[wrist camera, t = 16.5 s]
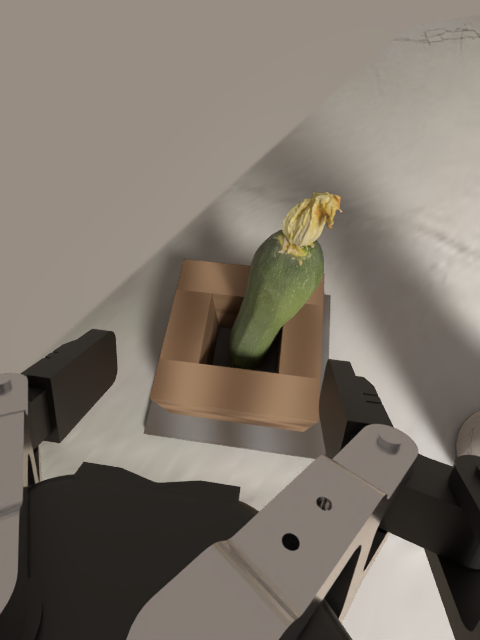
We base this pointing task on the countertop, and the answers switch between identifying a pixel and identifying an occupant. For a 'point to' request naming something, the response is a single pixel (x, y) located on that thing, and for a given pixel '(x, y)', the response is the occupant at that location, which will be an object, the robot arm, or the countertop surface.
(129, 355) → the countertop surface
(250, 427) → the holder
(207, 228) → the countertop surface
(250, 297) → the vegetable
